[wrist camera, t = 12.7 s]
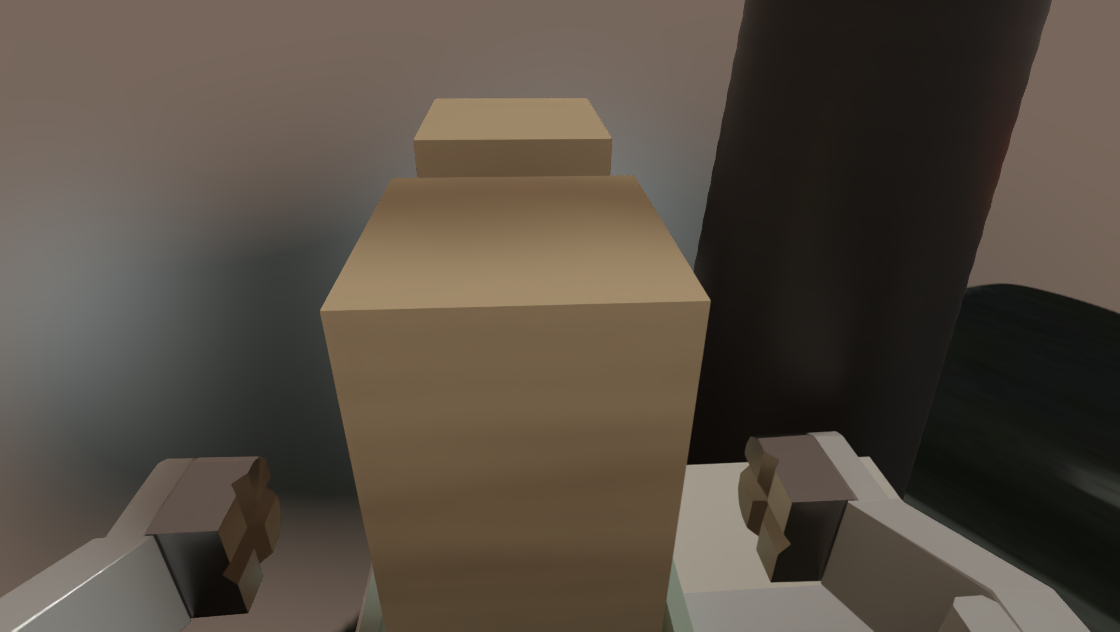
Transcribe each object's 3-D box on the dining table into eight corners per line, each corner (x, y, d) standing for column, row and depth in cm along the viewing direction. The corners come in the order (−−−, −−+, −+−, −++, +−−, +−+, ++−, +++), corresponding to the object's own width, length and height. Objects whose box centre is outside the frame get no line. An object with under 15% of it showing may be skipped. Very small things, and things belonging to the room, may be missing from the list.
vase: (809, 400, 45) (932, -72, 30) (950, 552, 33) (1254, -95, 19) (628, 424, 42) (671, -79, 28) (713, 598, 30) (859, -111, 16)
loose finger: (682, 904, 13) (835, 334, 6) (381, 933, 12) (181, 355, 5) (631, 629, 18) (681, 162, 11) (419, 642, 17) (340, 166, 11)
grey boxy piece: (1056, 1116, 17) (2263, 418, 5) (342, 1207, 15) (-320, 545, 4) (816, 613, 30) (992, 92, 18) (417, 639, 28) (325, 93, 17)
